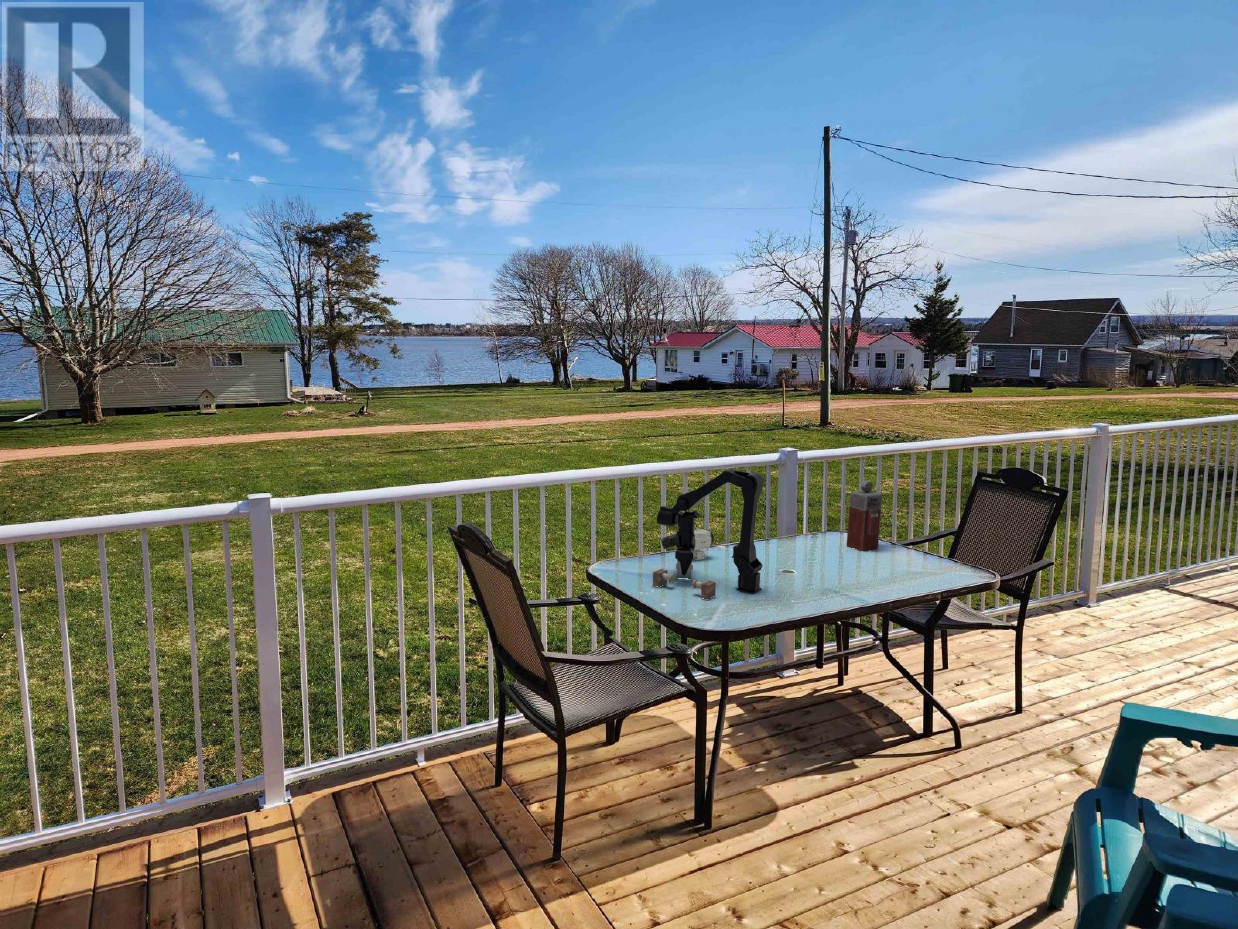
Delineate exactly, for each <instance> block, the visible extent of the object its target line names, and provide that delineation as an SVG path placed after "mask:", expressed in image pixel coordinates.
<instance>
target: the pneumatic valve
mask: <svg viewBox="0 0 1238 929" xmlns="http://www.w3.org/2000/svg"><path fill="white" fill-rule="evenodd" d="M694 540H695V546H694V547H693V548H694V555H693V560H695V561H696V560H697V561H702V560H701V559H703V560H705V556H706V552H705V551H704V549H709V548H712V546H713V543H714V541H715V536H714V534H713V531H711V530H708V529H705V528H702V529H701V528H697V529H694Z"/></svg>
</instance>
